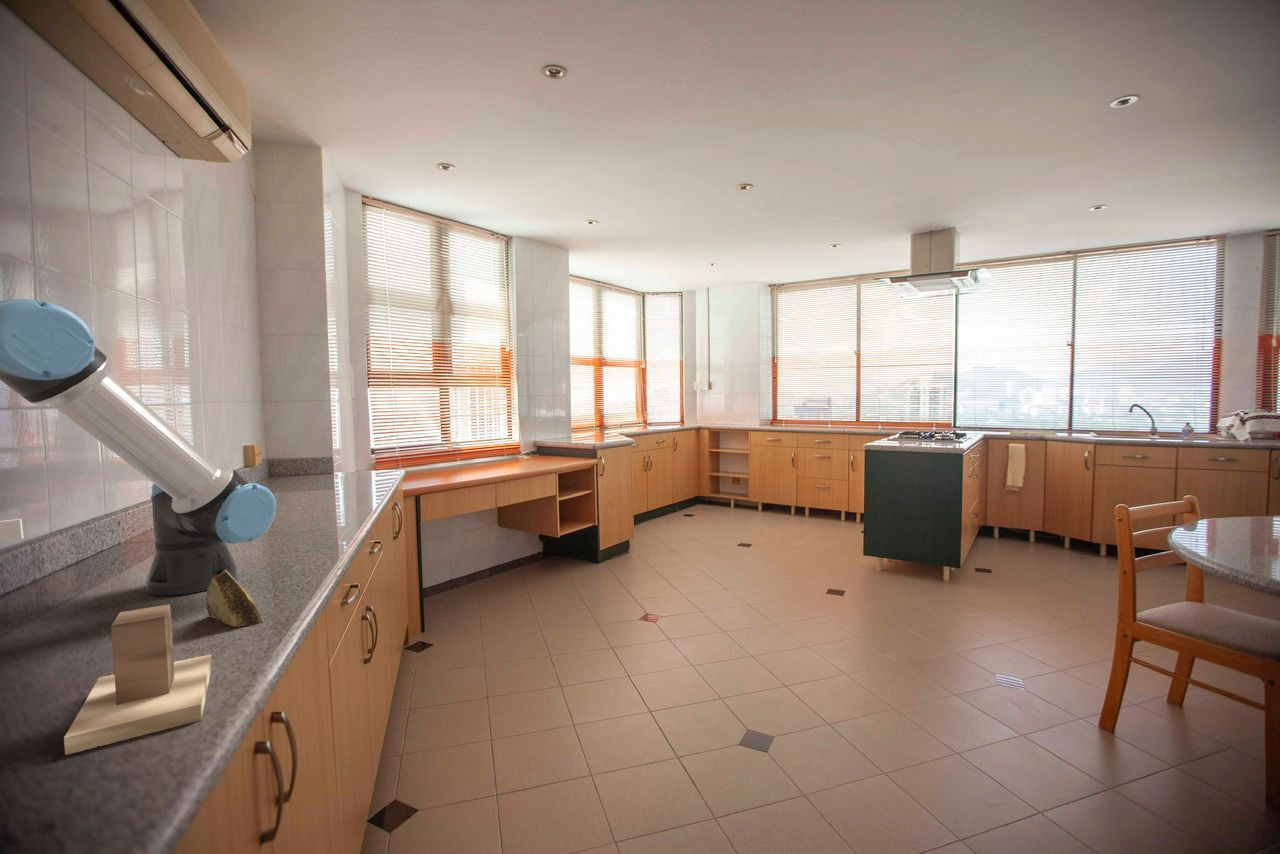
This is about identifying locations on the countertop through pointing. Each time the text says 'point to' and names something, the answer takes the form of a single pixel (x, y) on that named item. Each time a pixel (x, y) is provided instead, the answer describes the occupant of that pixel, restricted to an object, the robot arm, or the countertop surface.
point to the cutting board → (140, 708)
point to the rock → (231, 602)
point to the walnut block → (142, 653)
